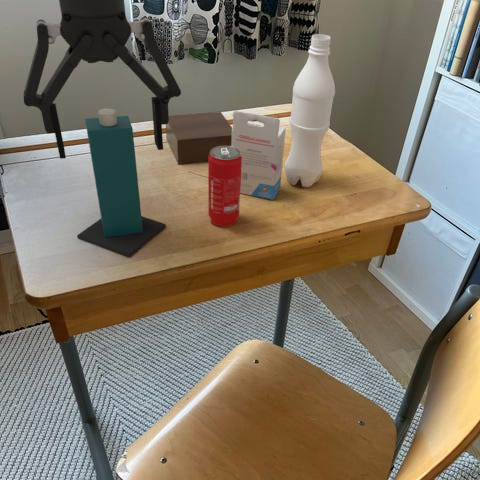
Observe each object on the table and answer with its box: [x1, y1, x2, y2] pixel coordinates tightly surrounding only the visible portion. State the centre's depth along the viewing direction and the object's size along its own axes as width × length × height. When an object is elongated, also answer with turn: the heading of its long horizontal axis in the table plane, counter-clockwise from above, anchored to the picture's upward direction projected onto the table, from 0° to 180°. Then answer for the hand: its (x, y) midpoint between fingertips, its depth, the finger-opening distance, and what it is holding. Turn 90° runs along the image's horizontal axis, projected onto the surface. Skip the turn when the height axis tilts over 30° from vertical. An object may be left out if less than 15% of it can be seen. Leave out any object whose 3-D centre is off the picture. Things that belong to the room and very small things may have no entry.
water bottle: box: [284, 33, 336, 188], centre depth 90 cm, size 7×7×25 cm
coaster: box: [76, 215, 167, 258], centre depth 83 cm, size 10×10×1 cm
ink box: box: [231, 110, 287, 201], centre depth 90 cm, size 8×5×15 cm, turn 70°
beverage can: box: [207, 146, 242, 228], centre depth 83 cm, size 5×5×12 cm
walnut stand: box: [165, 111, 233, 165], centre depth 105 cm, size 12×12×5 cm
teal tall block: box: [84, 107, 143, 237], centre depth 76 cm, size 19×6×4 cm
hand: (111, 150), depth 73 cm, fingers open, 13 cm apart
